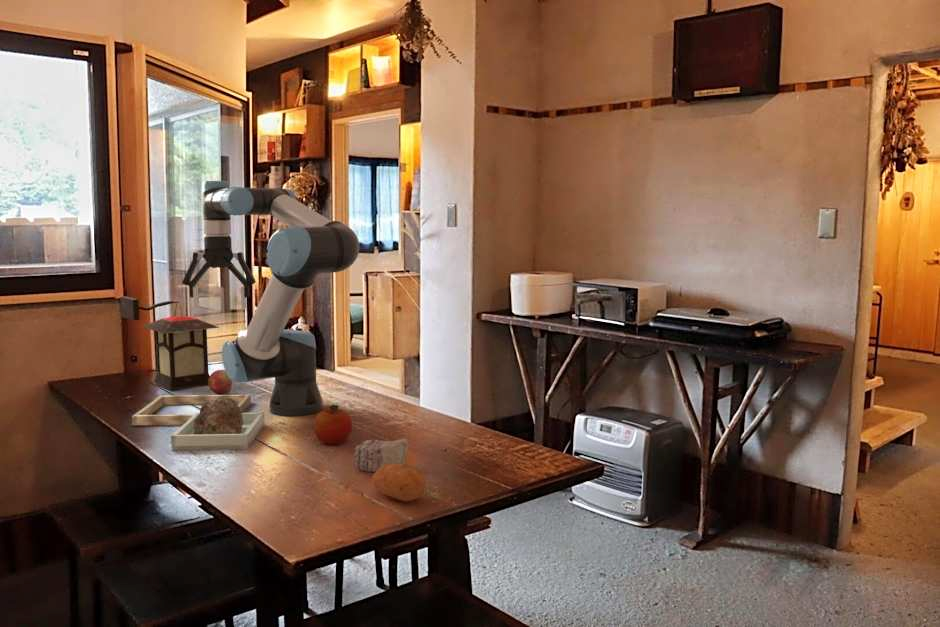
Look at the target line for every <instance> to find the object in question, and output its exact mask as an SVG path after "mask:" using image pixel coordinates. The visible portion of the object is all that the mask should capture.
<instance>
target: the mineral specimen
mask: <svg viewBox="0 0 940 627" xmlns="http://www.w3.org/2000/svg"><path fill="white" fill-rule="evenodd" d="M353 450H354V452H353V456H354V457H353V464H354V466H355V468H356V469H357V470H360V471H364V472H366V473H369V472H370V473H373V472H374V473H375V472H376V471H377V470H378V469H380V468H381V467H383V466H385V465H389V464H402V465H405V466H406V462H407V461H408V458H409V452H410V443H409V440H408V439H406V438H398V439H396V440H395V439H394V440H393V441H392V440H391V441H389V440H379V439H367V440H365V441H363V442H361V443H360V444H358V445H356V446H355V448H354V449H353Z"/></svg>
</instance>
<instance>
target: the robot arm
mask: <svg viewBox="0 0 940 627" xmlns="http://www.w3.org/2000/svg"><path fill="white" fill-rule="evenodd" d="M201 184H202V185H201V197H202V198H201V201H202V202H201V203H202V218H203V220H202V221H203V222H202V223H203V225H202V226H203V228H202V229H203V234H204V235H205V236H204V237H203V244H204V246H203V247H204V248H203V249H204V250H203V253H202V252H199V251H195V252H192V260H191V263H190V264H189V267H188V269H187V272H186V273H185V275H184V278H183V280H182V284H183V285H185V286H188V287H189V297H190V298H193V299H192V300H193V310H198V309H200V300H199V297H200V296H199V286H198V285H197V283H198V282H199V281H200V279H202V277H203V276H204V275H205V274H206V273H207V271H208V270H209V269H210V268H212V269H216V268H220V269H224V268H227V269H228V270H229V271H230V272H231V273H232V274H233V275H234V277H236V278H237V279H238V281H239V282H240V283H241V284H242V286H241V287H240V292H241V293H240V294H241V295H240V296H241V310H246V309H247V298H249V297H250V286H252V285H254V284H255V283H256V282H257V281H256V279H255V277H254V275H253V273H252V271H251V270H250V268H249V266H248V264H247V262H246V261H245V260H246V259H245V257H244V253H243V252H242V251H239V252H234V253H233V247H232V244H233V243H232V237H231V236H230V235H231V234H232V224H231V221H232V219H231V216H253V215H254V216H271V217H272V218H275V219H276V220H278V221H279V222H280V223H282V224H283V225H285V226H286V227H280V228H278V229H277V230H276V231H274V233H273V234H272V235H271V236H270V238H269V240H268V242H267V247H266V250H267V253H266V262H267V265H268V268H269V269H270V272H271V277H270V279H269V281H268V282H267V285H266V288H265V290H264V292H263V294H262V296H261V299H260V301H259V303H258V305H257V307H256V309H255V311H254V313H253V316H252V317H251V320H250V322H249V324H248V326H246V327H243V328H242V329H241V330H240V331H239V332H238V335H237V337H236V339H235V340H232V339H229V340H228V341H225V342H224V343H223V345H222V348H221V357H222V358H221V359H222V360H221V361H222V365H223V368H224V370H225V371H226V374H227V375H228V377H229V378H230V380H231V381H232V383H237V384H239V383H240V384H241V383H246V384H247V383H249V382H255V381H260V380H261V381H262V380H266V379H273V378H274V387H273V390H272V393H271V397H270V400H269V412H270V413H271V414H274V415H277V416H278V415H279V416H286V417H287V416H289V417H291V416H307V415H311V414H315V413H319V412H321V411H323V410H324V409H323V408H324V401H323V397H322V395H321V392H320V388H319V386H318V383H317V356H316V354H317V353H316V351H317V345H316V338H315V335H314V334H313V333H312V332H309V331H307V330H305V331H304V330H296V329H285V328H286V326H287V324H288V322H289V319H290V318H291V316H292V314H293V312H294V310H295V308H296V305H297V303H299V300H300V297H301V296H302V294H303V292H304V290H306V289H308V288H310V287H312V286H313V285H314V283H315V281H316V280H317V278H318V276H319V275H320V274H333V273H339V272H342V271H343V272H344V271H345V270H346V269H348V268H350V267H352V265H353V264H354V263H355V262H356V260H357V258H358V255H359V252H360V241H359V238H358V236H357V234H356V233H355V231H354V230H353V229H352V228H350V227H349V226H348V225H347V224H344V223H343V222H341V221H339V220H330V219H329V218H327V217H325V216H324V215H322V214H320V213H319V212H317V211H315V210H314V209H312V208H310V207H309V206H307V205H305V204H304V203H302V202H300V201H298V199H297V196H296V195H295V192H294V191H293V190H292V189H288V188H282V187H277V188H273V187H271V188H267V187H266V188H265V187H260V188H259V187H241V186H231V187H230V183H229V182H228V181H226V180H204V181H203V182H202V183H201ZM202 258H203V259H204V261H205V263H204V265H203V266H202V267H201V269H200V270H199V271H198V272H197V273H196V274H195V276H194V277H193V274H194V272H195V270H196V268H197V266H198V264H199V261H201V260H202ZM233 259H235V260H236V261H238V264H239V265H240V267H241V270H242V271H243V273H244V275H245V276H244V275H243V274H242V273H241V272H240V270H239V269H238V268H237V267H236V266H235V265H234V264H233V263H232V261H233ZM192 277H193V278H192Z"/></svg>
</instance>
